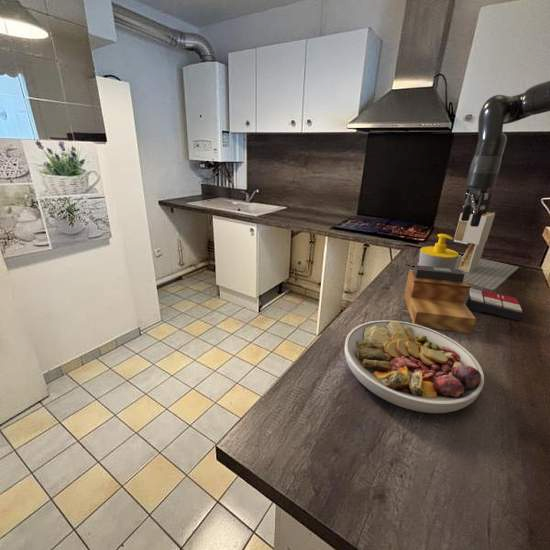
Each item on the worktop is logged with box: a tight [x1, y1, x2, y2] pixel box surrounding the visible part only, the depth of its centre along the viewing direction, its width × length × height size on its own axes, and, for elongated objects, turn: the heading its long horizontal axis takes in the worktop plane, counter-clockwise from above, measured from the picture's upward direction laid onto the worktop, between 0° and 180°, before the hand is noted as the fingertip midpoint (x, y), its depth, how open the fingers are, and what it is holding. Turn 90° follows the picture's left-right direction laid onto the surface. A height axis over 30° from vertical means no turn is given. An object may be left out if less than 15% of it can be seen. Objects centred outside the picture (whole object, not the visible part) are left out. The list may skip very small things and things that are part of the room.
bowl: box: [344, 319, 485, 414], centre depth 70 cm, size 30×30×8 cm
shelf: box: [403, 269, 477, 334], centre depth 95 cm, size 16×20×11 cm
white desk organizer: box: [453, 211, 496, 273], centre depth 133 cm, size 10×16×29 cm, turn 131°
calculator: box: [465, 287, 524, 322], centre depth 100 cm, size 11×4×15 cm
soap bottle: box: [418, 233, 459, 269], centre depth 112 cm, size 13×13×21 cm
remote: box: [413, 265, 465, 282], centre depth 96 cm, size 14×5×3 cm, turn 76°
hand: (469, 223), depth 95 cm, fingers open, 8 cm apart
